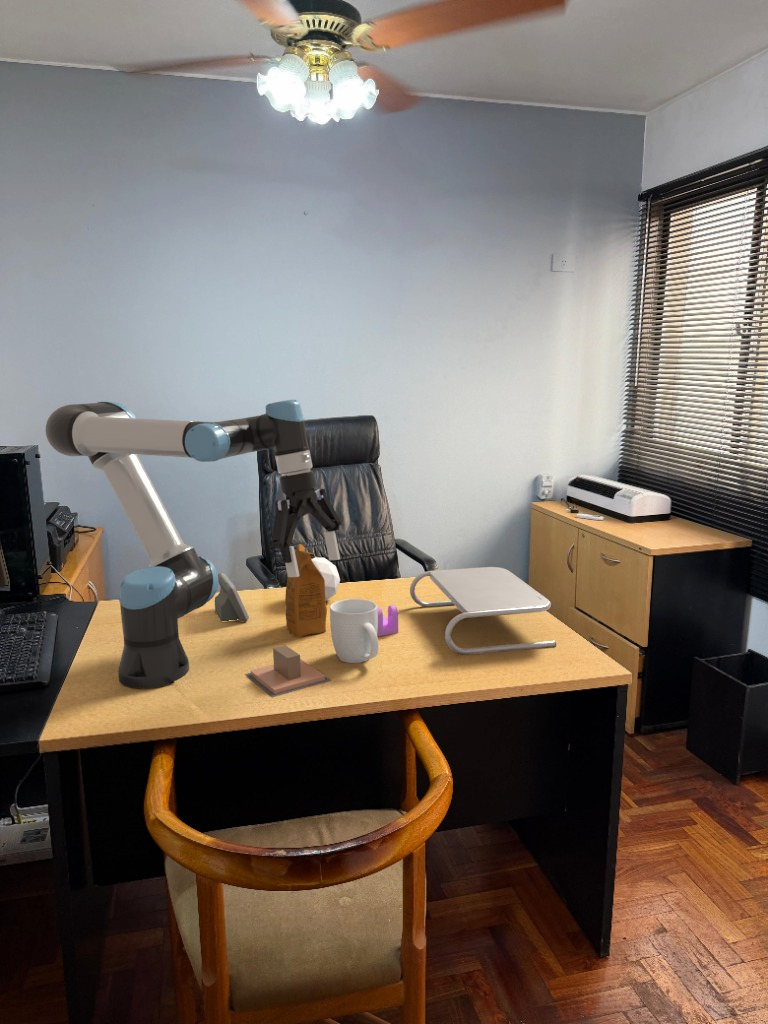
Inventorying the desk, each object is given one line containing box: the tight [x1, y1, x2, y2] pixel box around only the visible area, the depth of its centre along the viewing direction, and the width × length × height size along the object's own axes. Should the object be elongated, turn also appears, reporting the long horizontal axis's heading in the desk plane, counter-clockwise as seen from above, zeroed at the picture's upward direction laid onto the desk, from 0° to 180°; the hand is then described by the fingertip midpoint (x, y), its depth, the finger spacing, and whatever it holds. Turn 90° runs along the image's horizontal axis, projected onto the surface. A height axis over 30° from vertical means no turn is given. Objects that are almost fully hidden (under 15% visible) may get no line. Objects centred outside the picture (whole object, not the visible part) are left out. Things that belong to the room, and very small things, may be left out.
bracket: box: [377, 604, 399, 637], centre depth 189 cm, size 13×6×7 cm, turn 21°
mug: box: [329, 598, 379, 664], centre depth 166 cm, size 15×11×13 cm
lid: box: [249, 644, 326, 694], centre depth 157 cm, size 12×12×6 cm
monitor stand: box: [409, 566, 557, 655], centre depth 189 cm, size 37×28×11 cm
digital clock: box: [214, 572, 250, 623], centre depth 199 cm, size 16×9×11 cm, turn 12°
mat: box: [244, 672, 332, 698], centre depth 158 cm, size 14×14×1 cm
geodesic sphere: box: [311, 556, 341, 602], centre depth 209 cm, size 14×14×14 cm
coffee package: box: [285, 543, 328, 638], centre depth 186 cm, size 10×12×22 cm
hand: (314, 567), depth 158 cm, fingers open, 13 cm apart
